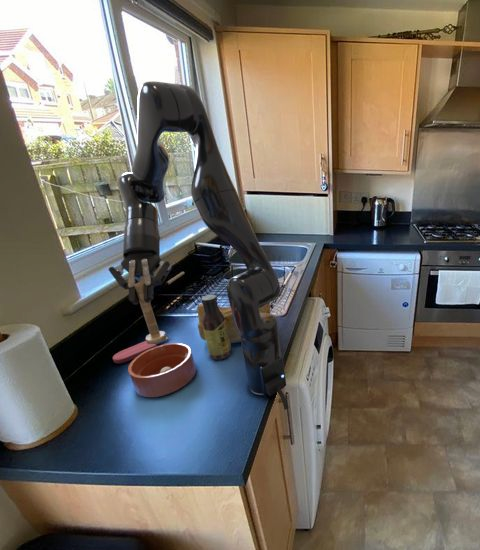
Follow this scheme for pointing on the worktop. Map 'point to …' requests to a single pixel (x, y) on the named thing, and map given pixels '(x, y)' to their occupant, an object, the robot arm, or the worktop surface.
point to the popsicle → (133, 352)
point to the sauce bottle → (215, 329)
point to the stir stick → (149, 317)
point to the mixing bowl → (153, 360)
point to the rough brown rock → (230, 323)
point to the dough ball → (165, 369)
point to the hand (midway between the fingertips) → (141, 302)
